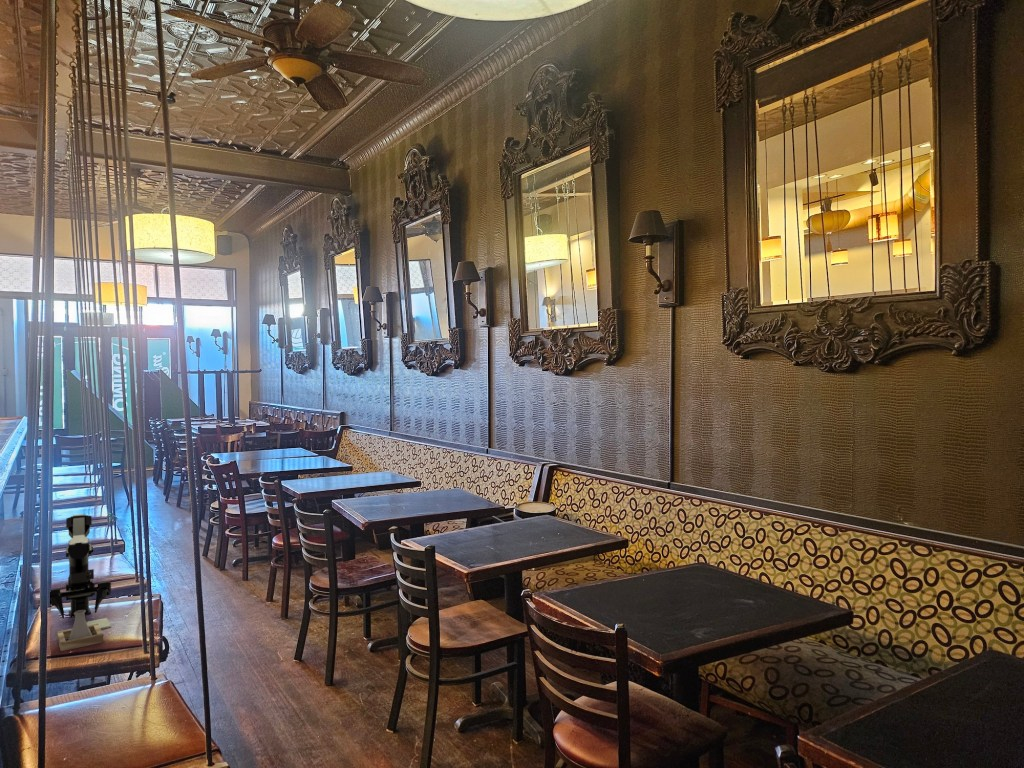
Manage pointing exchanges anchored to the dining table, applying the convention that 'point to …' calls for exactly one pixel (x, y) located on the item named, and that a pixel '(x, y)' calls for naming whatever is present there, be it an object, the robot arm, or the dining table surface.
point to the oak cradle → (80, 641)
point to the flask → (80, 626)
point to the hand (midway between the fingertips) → (79, 615)
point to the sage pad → (100, 623)
